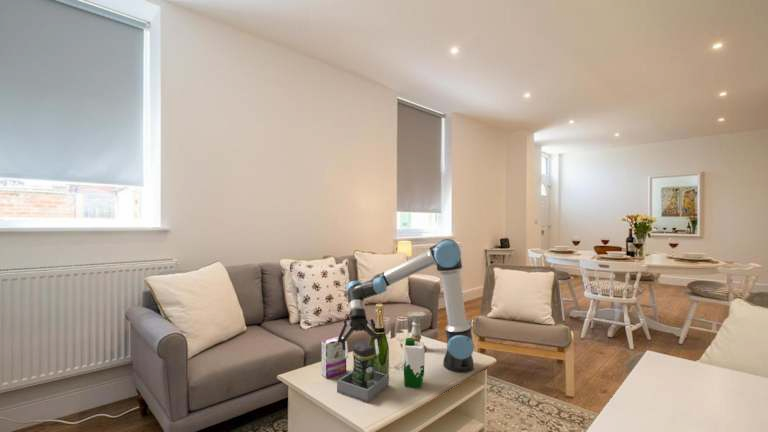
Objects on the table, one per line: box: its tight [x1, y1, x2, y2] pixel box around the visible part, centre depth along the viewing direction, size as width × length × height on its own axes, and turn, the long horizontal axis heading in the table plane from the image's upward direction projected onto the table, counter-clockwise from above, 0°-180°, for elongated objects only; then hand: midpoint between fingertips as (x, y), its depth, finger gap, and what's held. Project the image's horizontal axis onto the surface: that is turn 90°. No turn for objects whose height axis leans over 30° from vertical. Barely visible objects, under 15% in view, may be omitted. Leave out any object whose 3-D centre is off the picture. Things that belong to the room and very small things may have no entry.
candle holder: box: [406, 310, 428, 352], centre depth 207 cm, size 12×12×20 cm
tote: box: [336, 370, 390, 404], centre depth 160 cm, size 16×17×5 cm
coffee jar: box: [352, 341, 376, 389], centre depth 160 cm, size 10×8×19 cm
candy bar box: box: [321, 335, 347, 379], centre depth 174 cm, size 11×5×16 cm, turn 129°
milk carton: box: [403, 337, 426, 390], centre depth 165 cm, size 9×9×20 cm
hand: (362, 355), depth 160 cm, fingers open, 13 cm apart
